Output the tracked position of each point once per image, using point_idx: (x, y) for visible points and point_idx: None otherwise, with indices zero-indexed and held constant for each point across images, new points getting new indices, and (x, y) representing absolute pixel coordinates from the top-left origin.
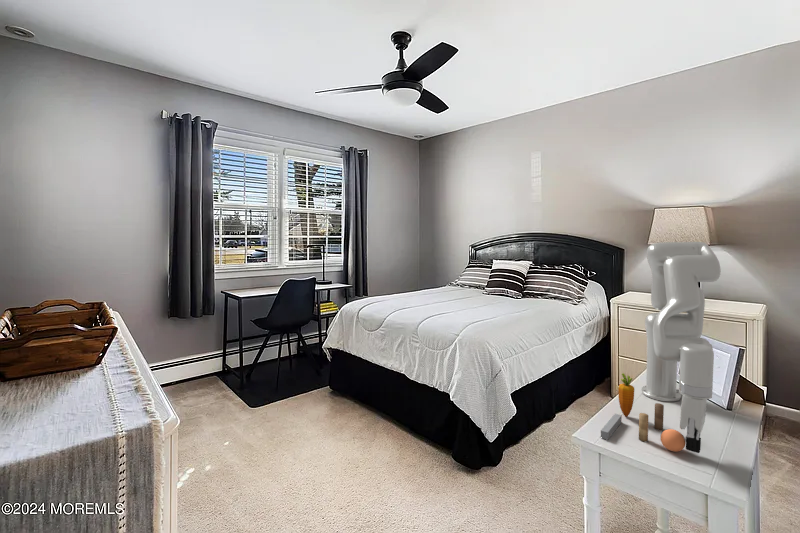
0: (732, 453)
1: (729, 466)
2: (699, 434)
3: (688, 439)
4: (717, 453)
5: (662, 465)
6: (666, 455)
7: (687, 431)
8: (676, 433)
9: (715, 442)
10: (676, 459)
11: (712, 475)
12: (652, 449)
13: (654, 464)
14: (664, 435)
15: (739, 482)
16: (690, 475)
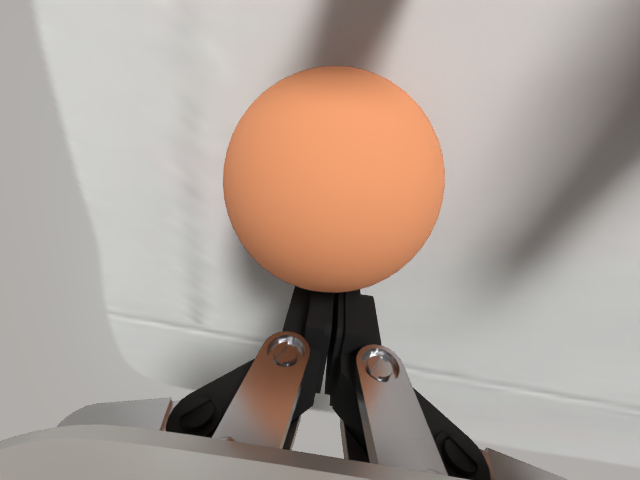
0: (436, 398)
1: None
2: (342, 433)
3: (306, 322)
4: (409, 357)
5: (88, 117)
6: None
7: (227, 413)
8: (287, 258)
9: (532, 363)
10: None
11: (191, 325)
12: (258, 19)
13: (53, 62)
14: (254, 113)
15: None
16: (116, 253)
